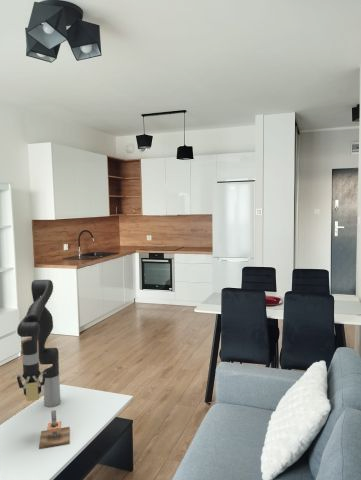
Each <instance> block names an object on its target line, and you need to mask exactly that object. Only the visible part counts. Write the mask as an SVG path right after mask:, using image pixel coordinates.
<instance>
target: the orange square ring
mask: <svg viewBox="0 0 361 480" xmlns="http://www.w3.org/2000/svg"><path fill="white" fill-rule="evenodd" d="M56 423H57V427H52V422H48V423H47V429H46V430H47V433H49V432H56V431H61V428H62V420H61V421H60V420H59V421H56Z"/></svg>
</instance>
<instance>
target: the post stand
mask: <svg viewBox="0 0 361 480" xmlns="http://www.w3.org/2000/svg"><path fill="white" fill-rule="evenodd" d="M50 415H51V423H52V427H58V426H57V423H56V422H57V410H51V413H50ZM52 427H51V428H52ZM70 430H71V429H70V426H66V427H61V431H56V432H49V433H47V429H46V430H41V431H40V436H39V444H38V449H40V450H41V449H47V448H53V447H59V446H64V445H70V442H71V440H70Z"/></svg>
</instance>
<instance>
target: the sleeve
mask: <svg viewBox="0 0 361 480" xmlns="http://www.w3.org/2000/svg"><path fill="white" fill-rule="evenodd" d="M37 380H38V379H37ZM25 397H26V399H25V400H26V402H30V401H32V402H33V401H38V400H39V399H40V394H38V381H36V382H28V383H26V396H25Z"/></svg>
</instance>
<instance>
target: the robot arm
mask: <svg viewBox="0 0 361 480" xmlns="http://www.w3.org/2000/svg"><path fill="white" fill-rule="evenodd" d="M30 288H31V295H32V301H33V303H31V305H30V306H29V308H28V309H27V312H26V314H25V316H24V317H23V318H22V320H21V321H20V322H19V324H18V326H17V329H16V331H17V332H16V333H17V336H19V337H22V338H26V337H27V338H28V337H29V338H30V337H31V339H28V340H26V341H23V342H22V345H21V346H22V369H23V370H22V374H18V375H17V377H16V380H17V383H18V388H19V389H23V395H24V396H25V397H26V383H28V382H36V381H38V394H39V395H40V394H41V393H42V391H43V404H44V406H45V407H46V408H47V407H48V408H49V407H52V408H53V407H56V406H58V405H60V404H61V387H60V385H61V384H60V367H59V365H60V364H59V363H60V361H59V360H60V359H59V357H60V356H59V353H60V352H59V349H58V348H57V347H45V345H46V342H47V340H48V338H49V336H50V334H51V333H52V331H53V329H54V319H53V315H52V313H51V312H50V310H49V309H48V307H46V305H47V303H48V301H49V300H50V299H51V298H50V297H52V294H53V292H54V283H53V281H52V280H51V279H34V280H33V281H32V282H31V286H30ZM40 365H51V366H49V367H46V368H45V369H44V370H43V371H42V372H41V371H40ZM40 377H41V378H42V381H41V380H40ZM23 379H24V380H25V382H24V384H23V381H22V380H23ZM37 379H38V380H37ZM42 386H43V387H42ZM42 389H43V390H42Z"/></svg>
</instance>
